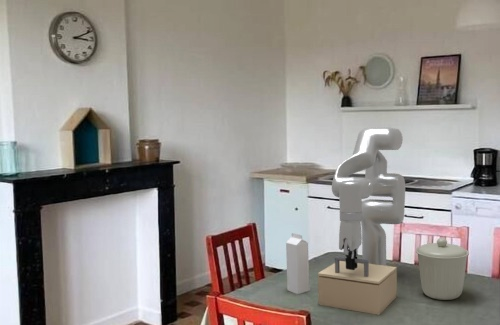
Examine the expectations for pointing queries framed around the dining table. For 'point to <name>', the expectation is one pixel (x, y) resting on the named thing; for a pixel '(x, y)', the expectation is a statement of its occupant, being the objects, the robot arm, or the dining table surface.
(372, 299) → the carton
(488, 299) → the dining table surface
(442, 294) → the canister
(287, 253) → the milk
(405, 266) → the dining table surface
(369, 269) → the carton lid
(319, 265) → the dining table surface
